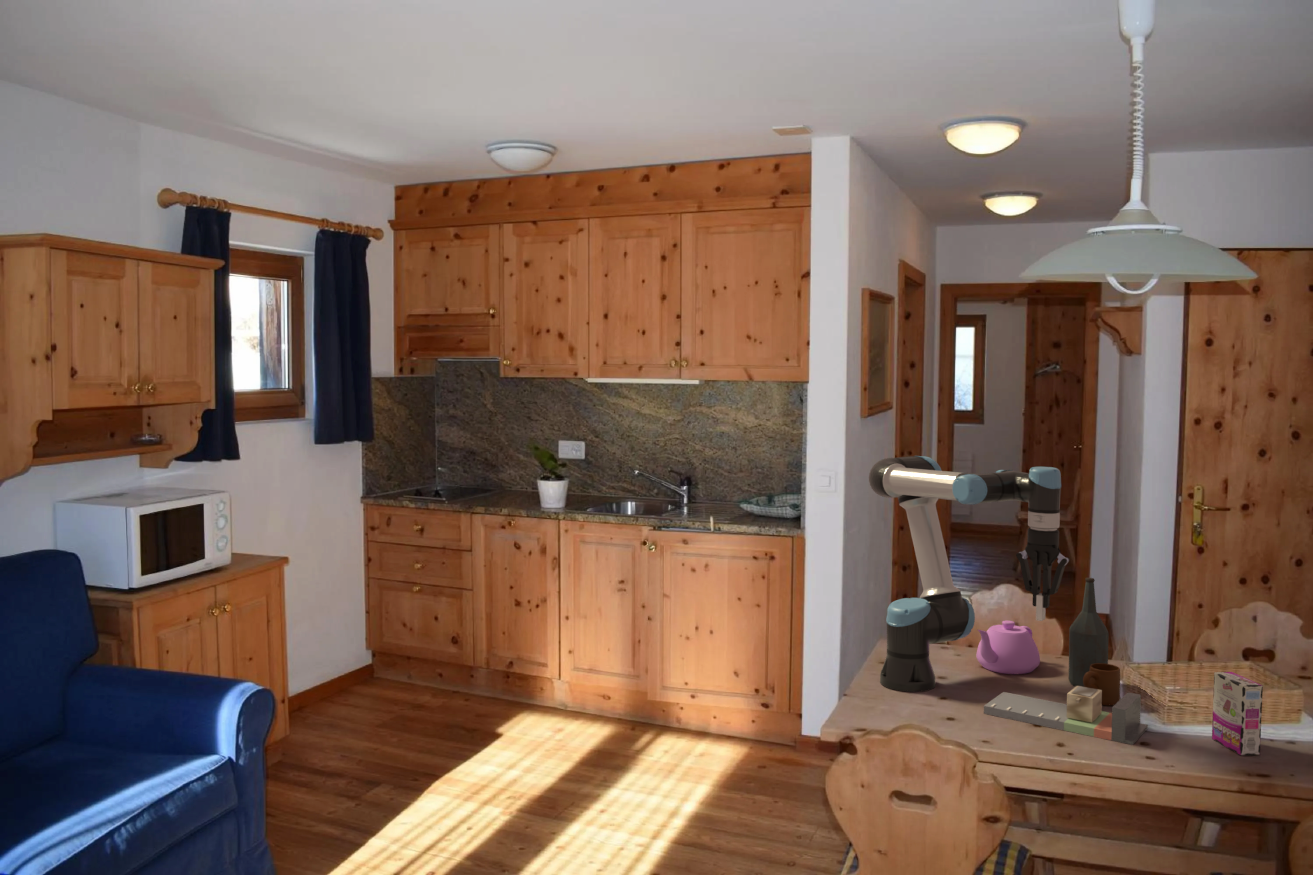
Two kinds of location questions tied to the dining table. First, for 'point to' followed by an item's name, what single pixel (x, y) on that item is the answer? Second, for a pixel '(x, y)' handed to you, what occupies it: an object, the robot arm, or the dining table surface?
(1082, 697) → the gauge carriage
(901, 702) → the dining table surface
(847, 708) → the dining table surface
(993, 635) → the teapot
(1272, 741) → the dining table surface
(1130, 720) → the grey block
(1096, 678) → the mug
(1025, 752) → the dining table surface
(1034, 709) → the track
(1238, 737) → the candy bar box
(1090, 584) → the bottle
